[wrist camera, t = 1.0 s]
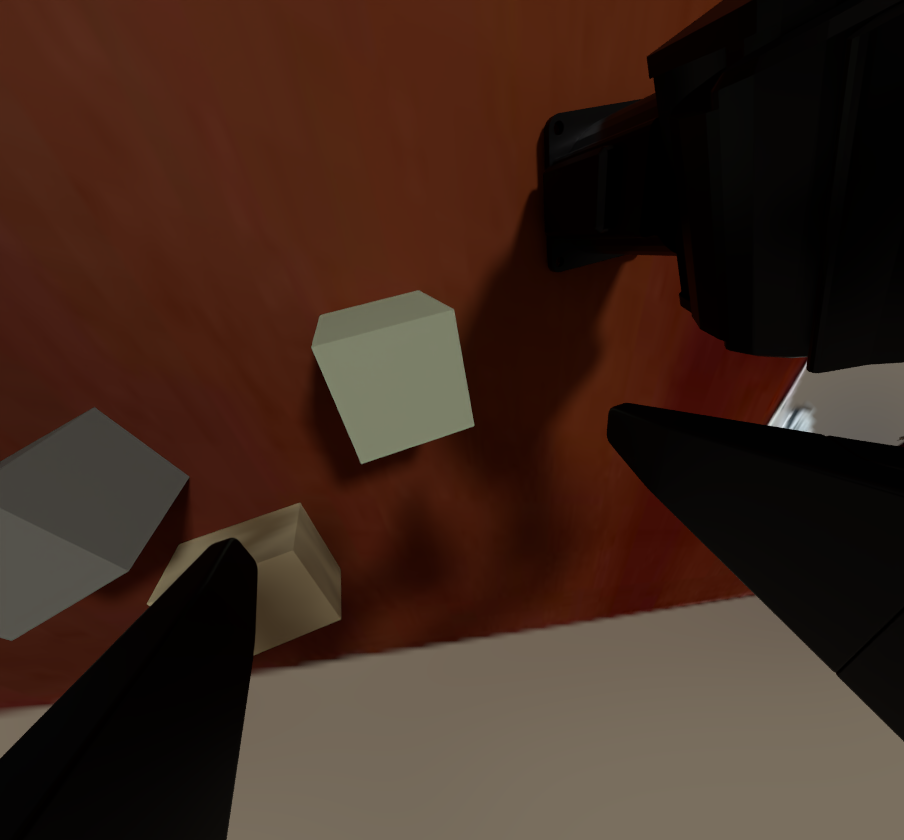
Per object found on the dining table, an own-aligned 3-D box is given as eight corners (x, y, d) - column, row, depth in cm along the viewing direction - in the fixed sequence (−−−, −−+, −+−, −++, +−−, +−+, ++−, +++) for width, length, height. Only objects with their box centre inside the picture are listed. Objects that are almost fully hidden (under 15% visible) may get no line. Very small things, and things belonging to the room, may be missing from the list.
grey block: (94, 406, 15) (-34, 491, 10) (189, 476, 17) (128, 571, 12) (-4, 463, 14) (-188, 580, 9) (107, 525, 17) (11, 640, 12)
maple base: (300, 499, 20) (292, 550, 17) (340, 566, 24) (341, 619, 20) (180, 540, 19) (146, 603, 16) (242, 604, 23) (225, 667, 19)
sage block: (418, 290, 16) (453, 309, 11) (438, 378, 19) (474, 426, 14) (320, 314, 16) (311, 347, 11) (354, 403, 18) (361, 464, 13)
